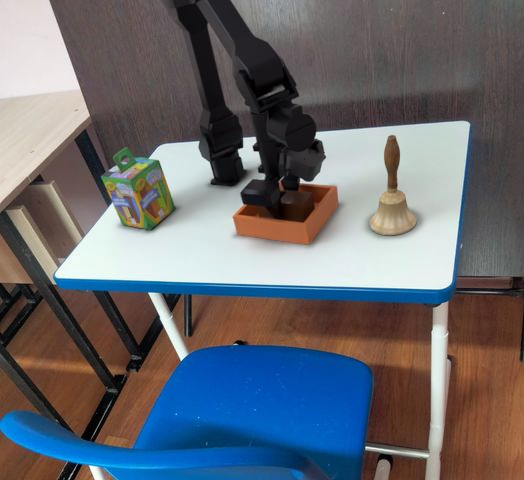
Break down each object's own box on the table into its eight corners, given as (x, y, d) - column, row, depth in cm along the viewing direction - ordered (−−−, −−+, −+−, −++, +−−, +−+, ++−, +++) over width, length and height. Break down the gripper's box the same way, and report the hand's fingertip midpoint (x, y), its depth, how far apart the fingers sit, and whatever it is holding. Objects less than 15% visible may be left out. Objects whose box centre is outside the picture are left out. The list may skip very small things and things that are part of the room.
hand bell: (419, 210, 96) (420, 123, 85) (413, 236, 91) (413, 147, 80) (374, 210, 99) (369, 126, 88) (365, 235, 94) (359, 149, 83)
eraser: (260, 220, 104) (255, 200, 100) (270, 208, 106) (266, 188, 103) (305, 226, 99) (301, 205, 96) (315, 213, 101) (312, 192, 98)
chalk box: (151, 231, 110) (124, 165, 100) (120, 225, 115) (91, 161, 105) (177, 208, 115) (154, 142, 105) (147, 203, 120) (122, 139, 110)
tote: (237, 234, 103) (232, 216, 100) (270, 198, 110) (266, 180, 107) (308, 245, 95) (305, 225, 93) (339, 205, 103) (336, 185, 100)
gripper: (288, 163, 82) (303, 246, 93) (336, 111, 92) (344, 191, 103) (229, 159, 87) (249, 238, 98) (281, 110, 98) (294, 187, 108)
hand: (286, 213), depth 102 cm, fingers open, 5 cm apart
